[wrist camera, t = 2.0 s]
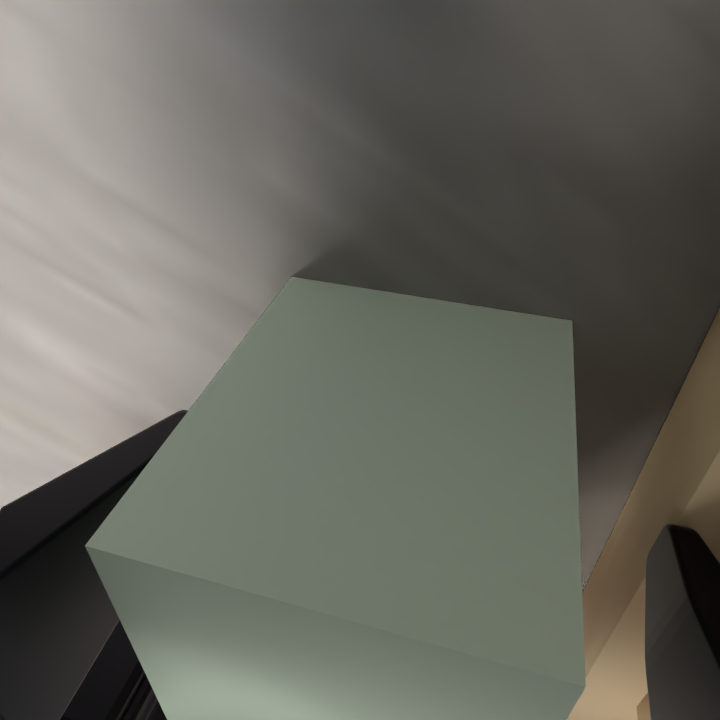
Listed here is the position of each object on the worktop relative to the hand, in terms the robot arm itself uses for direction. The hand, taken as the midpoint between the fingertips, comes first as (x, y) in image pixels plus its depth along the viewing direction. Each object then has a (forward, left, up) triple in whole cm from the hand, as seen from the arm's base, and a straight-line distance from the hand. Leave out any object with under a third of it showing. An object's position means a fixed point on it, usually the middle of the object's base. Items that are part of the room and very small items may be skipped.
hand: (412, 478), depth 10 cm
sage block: (0, 0, -2) cm, 2 cm away
